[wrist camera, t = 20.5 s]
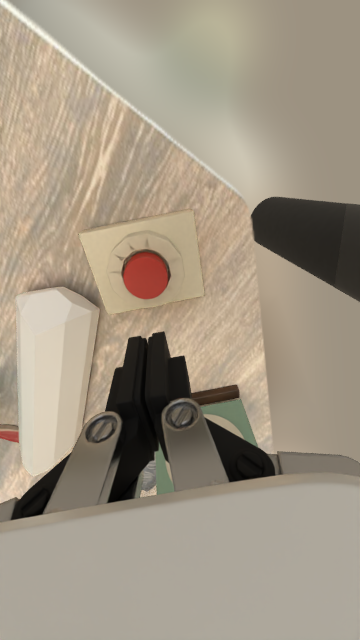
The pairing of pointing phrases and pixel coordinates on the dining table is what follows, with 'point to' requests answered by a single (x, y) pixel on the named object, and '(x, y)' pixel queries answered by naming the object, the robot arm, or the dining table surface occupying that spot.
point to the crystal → (52, 372)
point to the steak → (9, 432)
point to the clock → (221, 414)
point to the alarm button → (145, 275)
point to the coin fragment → (149, 476)
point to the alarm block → (145, 236)
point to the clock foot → (216, 395)
